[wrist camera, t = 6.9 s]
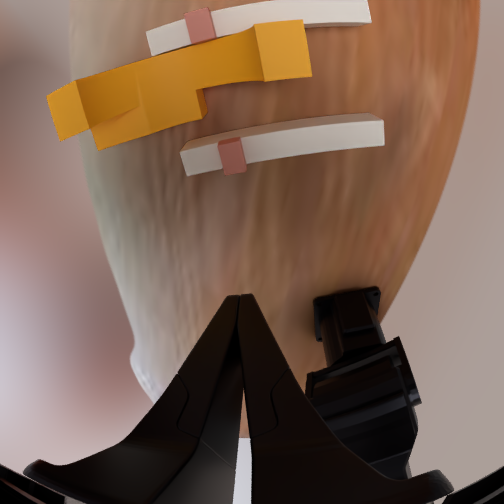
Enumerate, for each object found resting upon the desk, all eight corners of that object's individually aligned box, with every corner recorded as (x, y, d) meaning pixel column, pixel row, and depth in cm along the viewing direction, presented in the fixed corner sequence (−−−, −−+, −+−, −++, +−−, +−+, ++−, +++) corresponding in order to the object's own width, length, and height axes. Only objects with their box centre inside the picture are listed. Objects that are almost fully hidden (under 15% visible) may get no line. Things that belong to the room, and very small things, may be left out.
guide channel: (370, 136, 17) (391, 152, 15) (194, 164, 19) (184, 184, 16) (352, 3, 12) (372, -7, 9) (158, 33, 13) (138, 29, 11)
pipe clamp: (118, 136, 17) (71, 172, 12) (102, 80, 15) (46, 96, 10) (295, 97, 16) (317, 115, 11) (285, 33, 14) (302, 19, 9)
